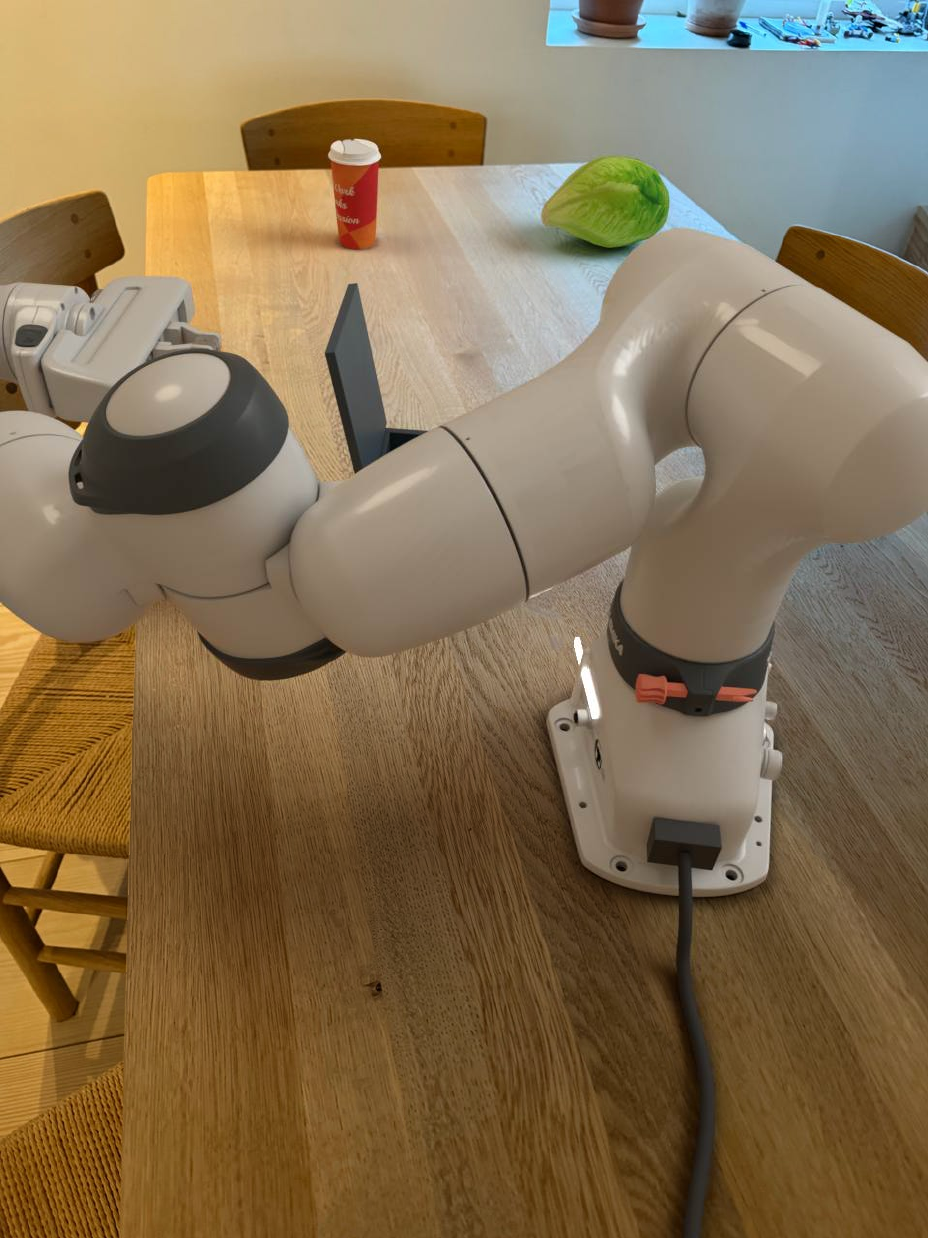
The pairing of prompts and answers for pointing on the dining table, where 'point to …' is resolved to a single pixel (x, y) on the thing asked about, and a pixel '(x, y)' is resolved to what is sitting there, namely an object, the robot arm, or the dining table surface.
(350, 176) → the paper cup
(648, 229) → the lettuce
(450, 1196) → the dining table surface
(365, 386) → the chest lid
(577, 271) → the dining table surface
